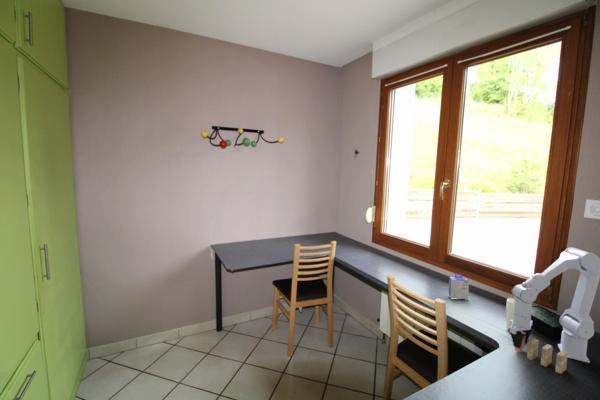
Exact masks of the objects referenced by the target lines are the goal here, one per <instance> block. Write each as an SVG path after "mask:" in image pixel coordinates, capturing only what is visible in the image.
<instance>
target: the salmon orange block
mask: <svg viewBox="0 0 600 400" xmlns="http://www.w3.org/2000/svg"><path fill="white" fill-rule="evenodd" d="M520 332H521V333H523V334H525V337H526V332H523V331H520ZM525 337H524V338H523V340H522V344H521V347H520V348H517V347H515V346H514V350H515V351H517V352H521V351H523V350H524V349H526V348H525V347H526V345H525Z"/></svg>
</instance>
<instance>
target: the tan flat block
mask: <svg viewBox="0 0 600 400" xmlns="http://www.w3.org/2000/svg"><path fill="white" fill-rule="evenodd" d="M552 357H553V345H551V344H549V343H548V344H546V345H544V346H543V347H541V355H540V365H541V366H543V367H545V368H546V367H548V366H550V364H552Z"/></svg>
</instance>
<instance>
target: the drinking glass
mask: <svg viewBox="0 0 600 400" xmlns="http://www.w3.org/2000/svg"><path fill="white" fill-rule="evenodd" d="M514 300H515V299H514V297H508V298H507V299H506V304H505V305H506V307H505V310H506V311H505V312H506V313H505V315H506V330H507V331H508V329H509V328H511V326H512V323H511V322H510V320H513V315H514Z"/></svg>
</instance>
